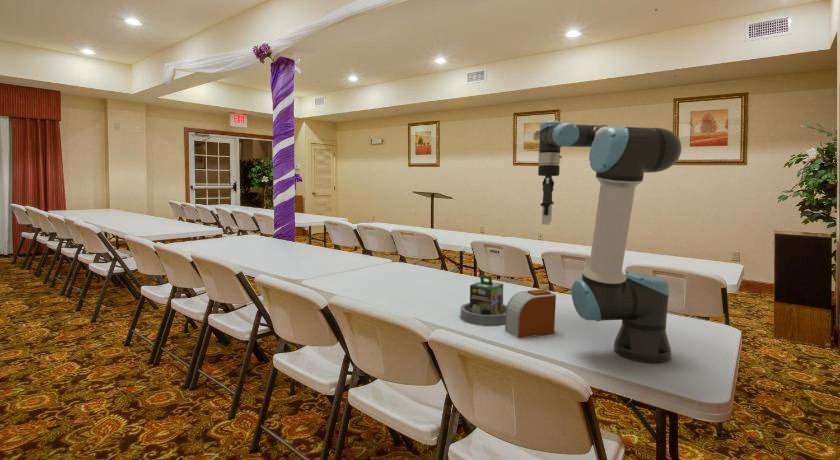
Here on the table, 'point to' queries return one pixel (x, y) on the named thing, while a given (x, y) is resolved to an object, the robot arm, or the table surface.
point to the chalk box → (486, 297)
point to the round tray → (482, 317)
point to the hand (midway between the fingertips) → (546, 223)
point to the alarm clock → (531, 313)
